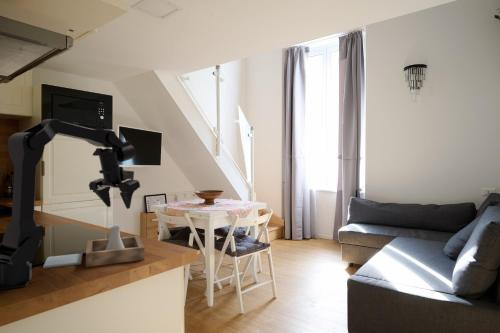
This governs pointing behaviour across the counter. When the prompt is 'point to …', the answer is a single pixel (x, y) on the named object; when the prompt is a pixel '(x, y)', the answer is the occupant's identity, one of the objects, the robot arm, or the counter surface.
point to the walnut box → (114, 251)
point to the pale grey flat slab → (63, 260)
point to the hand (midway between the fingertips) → (118, 207)
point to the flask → (115, 239)
